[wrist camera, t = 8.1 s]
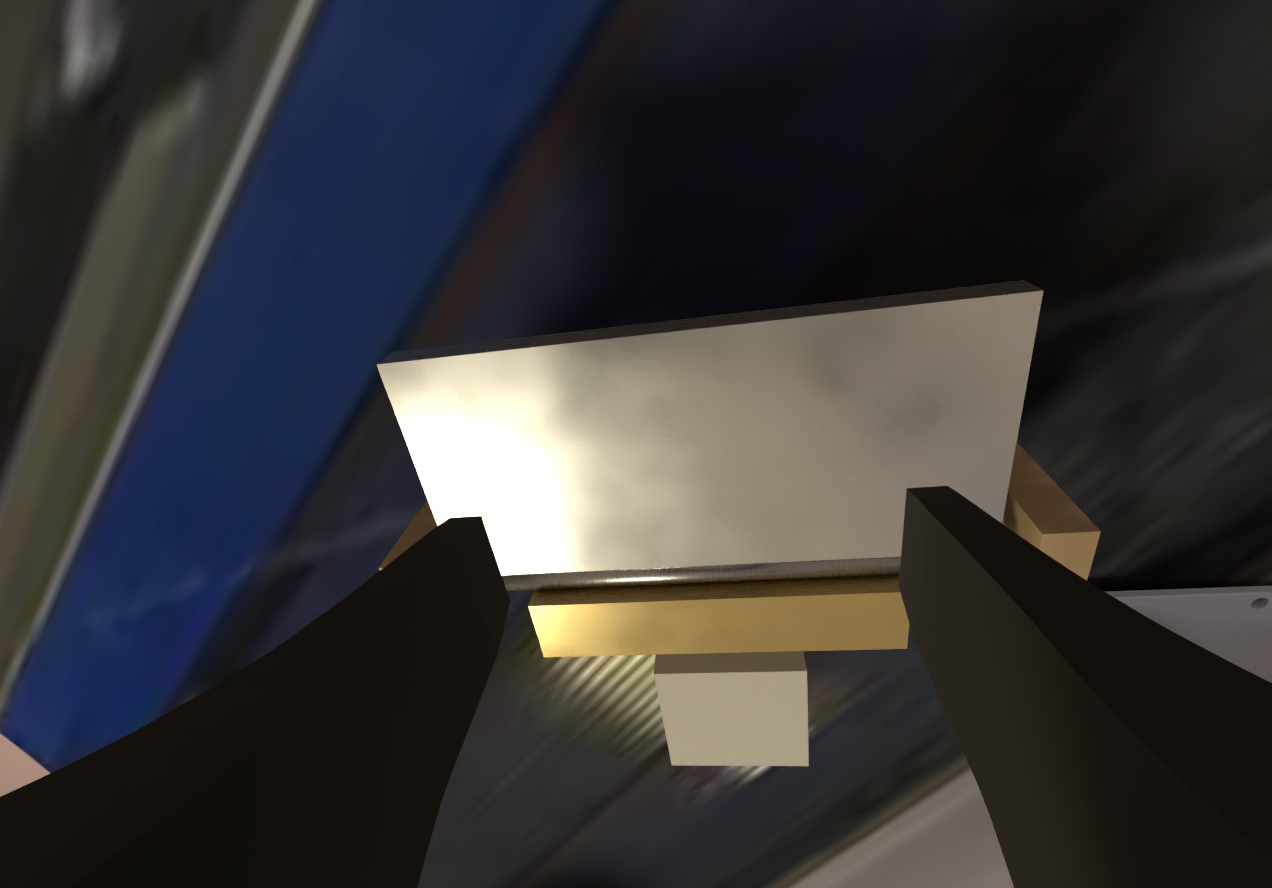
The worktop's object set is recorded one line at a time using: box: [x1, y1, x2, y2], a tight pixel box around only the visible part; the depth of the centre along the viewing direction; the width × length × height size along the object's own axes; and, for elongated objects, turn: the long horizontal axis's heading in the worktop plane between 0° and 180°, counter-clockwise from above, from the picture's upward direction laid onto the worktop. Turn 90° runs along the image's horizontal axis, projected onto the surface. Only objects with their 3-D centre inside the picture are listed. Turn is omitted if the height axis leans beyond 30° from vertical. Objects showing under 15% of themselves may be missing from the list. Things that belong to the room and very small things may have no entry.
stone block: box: [654, 651, 809, 766], centre depth 23 cm, size 5×5×5 cm
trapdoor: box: [377, 280, 1043, 657], centre depth 15 cm, size 14×9×2 cm, turn 98°
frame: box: [379, 442, 1101, 580], centre depth 19 cm, size 18×6×7 cm, turn 98°
